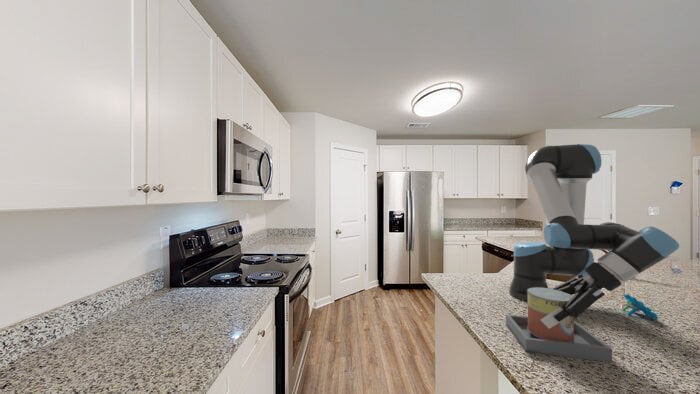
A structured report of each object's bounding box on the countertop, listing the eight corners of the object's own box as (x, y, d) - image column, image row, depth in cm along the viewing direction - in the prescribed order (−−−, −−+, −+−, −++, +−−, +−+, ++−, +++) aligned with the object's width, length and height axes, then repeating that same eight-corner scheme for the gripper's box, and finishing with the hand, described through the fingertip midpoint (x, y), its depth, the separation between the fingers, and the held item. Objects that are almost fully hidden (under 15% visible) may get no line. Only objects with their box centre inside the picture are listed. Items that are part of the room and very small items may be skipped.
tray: (505, 324, 89) (505, 314, 89) (575, 331, 84) (575, 321, 84) (525, 351, 73) (525, 339, 73) (612, 362, 68) (612, 348, 68)
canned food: (557, 347, 72) (557, 303, 72) (518, 327, 82) (518, 289, 82) (583, 339, 75) (584, 298, 75) (543, 322, 86) (543, 285, 86)
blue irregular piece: (667, 320, 89) (637, 295, 92) (651, 331, 90) (622, 306, 93) (645, 311, 99) (619, 289, 103) (631, 321, 100) (606, 299, 104)
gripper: (645, 297, 61) (561, 346, 68) (604, 272, 82) (543, 311, 89) (614, 271, 64) (537, 321, 71) (582, 253, 84) (525, 293, 92)
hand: (540, 316), depth 80 cm, fingers closed on canned food, 11 cm apart
